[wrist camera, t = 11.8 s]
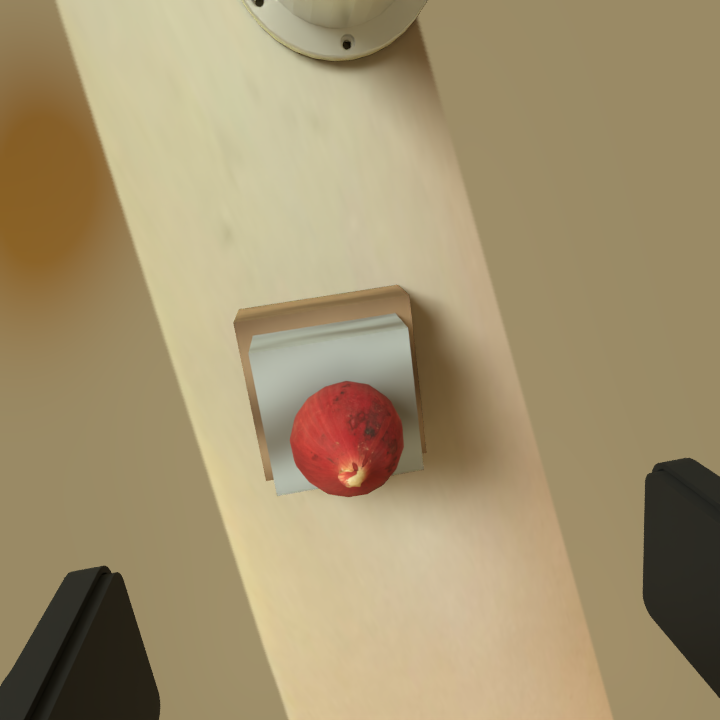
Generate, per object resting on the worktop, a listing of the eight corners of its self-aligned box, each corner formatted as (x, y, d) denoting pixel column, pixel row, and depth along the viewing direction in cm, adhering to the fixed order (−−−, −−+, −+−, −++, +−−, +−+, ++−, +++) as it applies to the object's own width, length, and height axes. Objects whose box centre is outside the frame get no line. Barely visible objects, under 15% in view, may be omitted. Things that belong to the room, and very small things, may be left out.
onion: (329, 344, 32) (342, 394, 24) (410, 397, 33) (446, 460, 26) (271, 425, 33) (265, 497, 25) (352, 473, 34) (370, 555, 27)
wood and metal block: (239, 309, 38) (226, 339, 31) (397, 284, 39) (423, 307, 32) (268, 454, 42) (263, 513, 34) (414, 428, 43) (441, 481, 35)
